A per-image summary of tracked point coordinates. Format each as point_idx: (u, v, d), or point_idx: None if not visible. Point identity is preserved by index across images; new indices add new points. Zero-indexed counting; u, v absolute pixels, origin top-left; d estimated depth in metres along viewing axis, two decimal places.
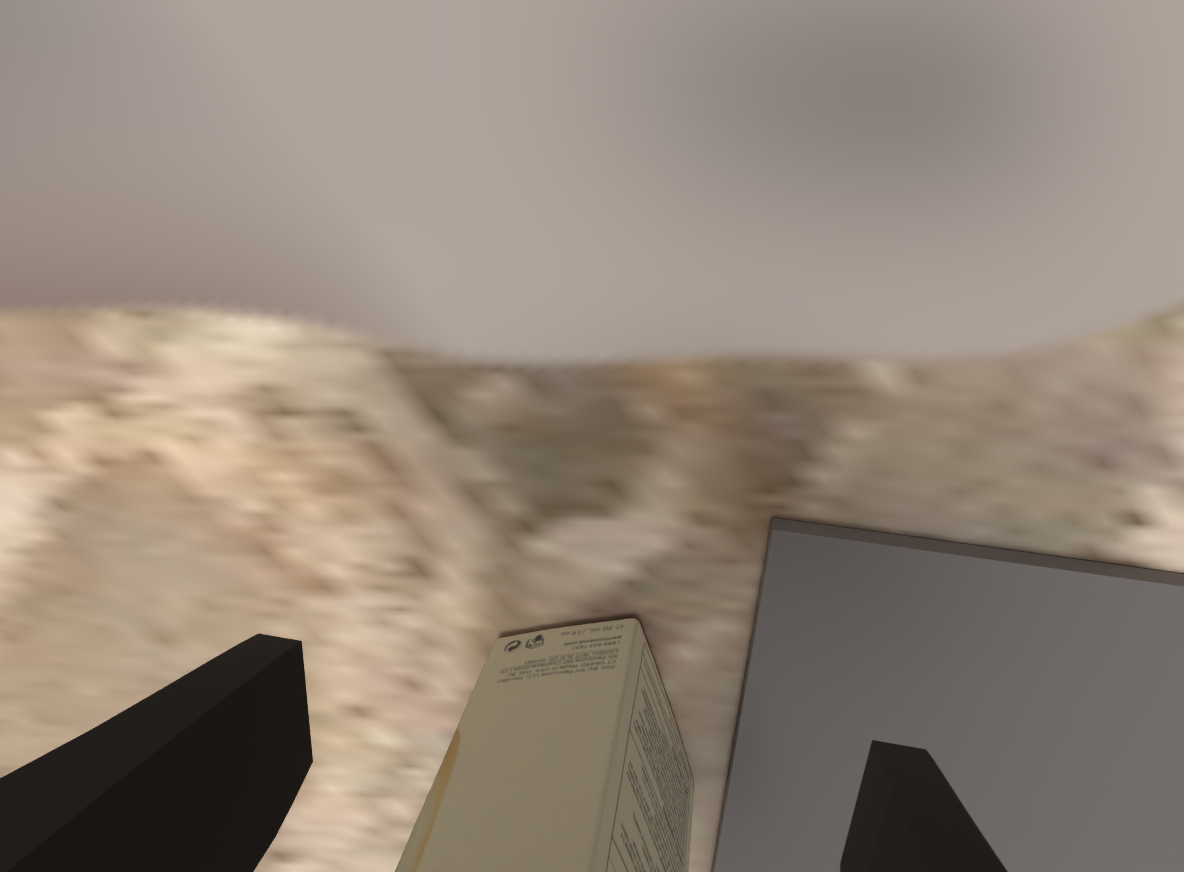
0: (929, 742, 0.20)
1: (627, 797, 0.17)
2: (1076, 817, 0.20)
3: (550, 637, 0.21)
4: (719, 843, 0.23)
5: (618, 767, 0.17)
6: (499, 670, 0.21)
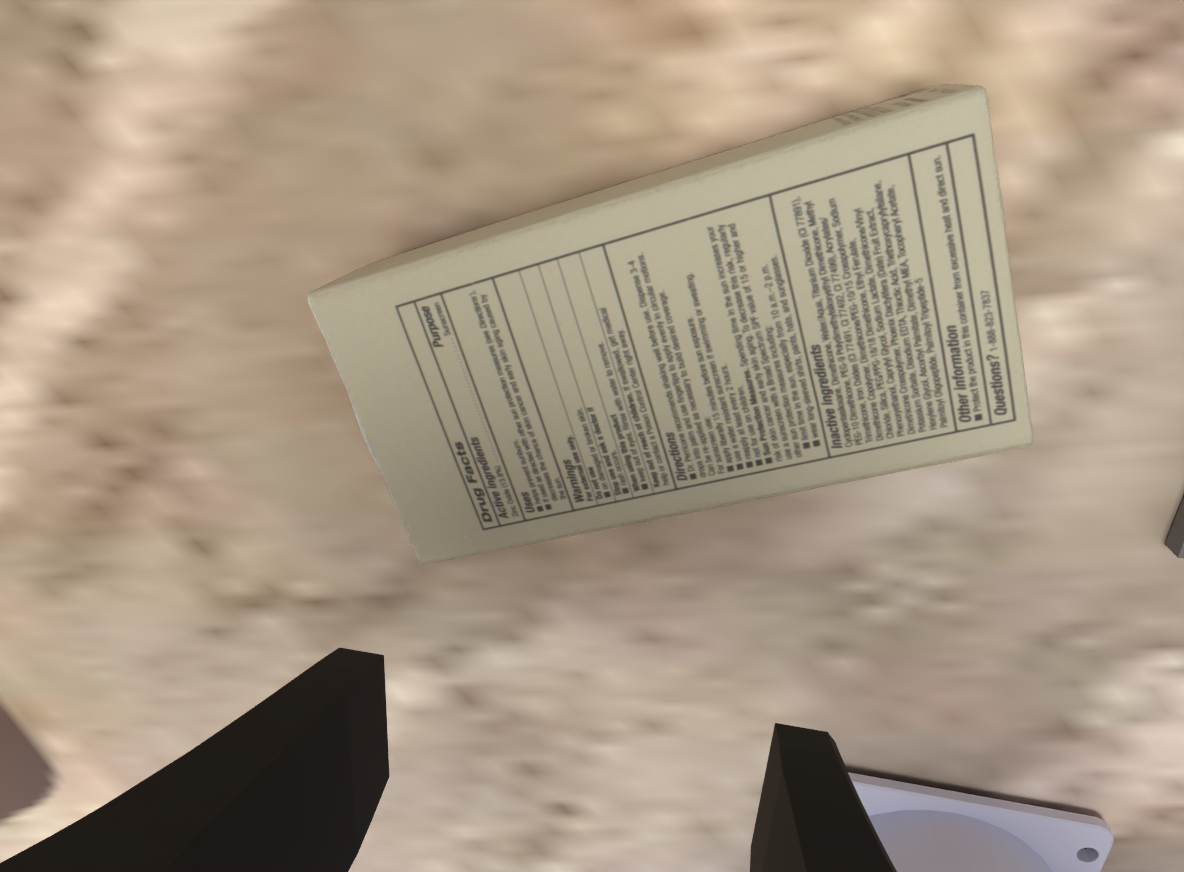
0: None
1: (685, 248, 0.14)
2: None
3: (923, 91, 0.14)
4: None
5: (684, 206, 0.13)
6: (852, 111, 0.15)
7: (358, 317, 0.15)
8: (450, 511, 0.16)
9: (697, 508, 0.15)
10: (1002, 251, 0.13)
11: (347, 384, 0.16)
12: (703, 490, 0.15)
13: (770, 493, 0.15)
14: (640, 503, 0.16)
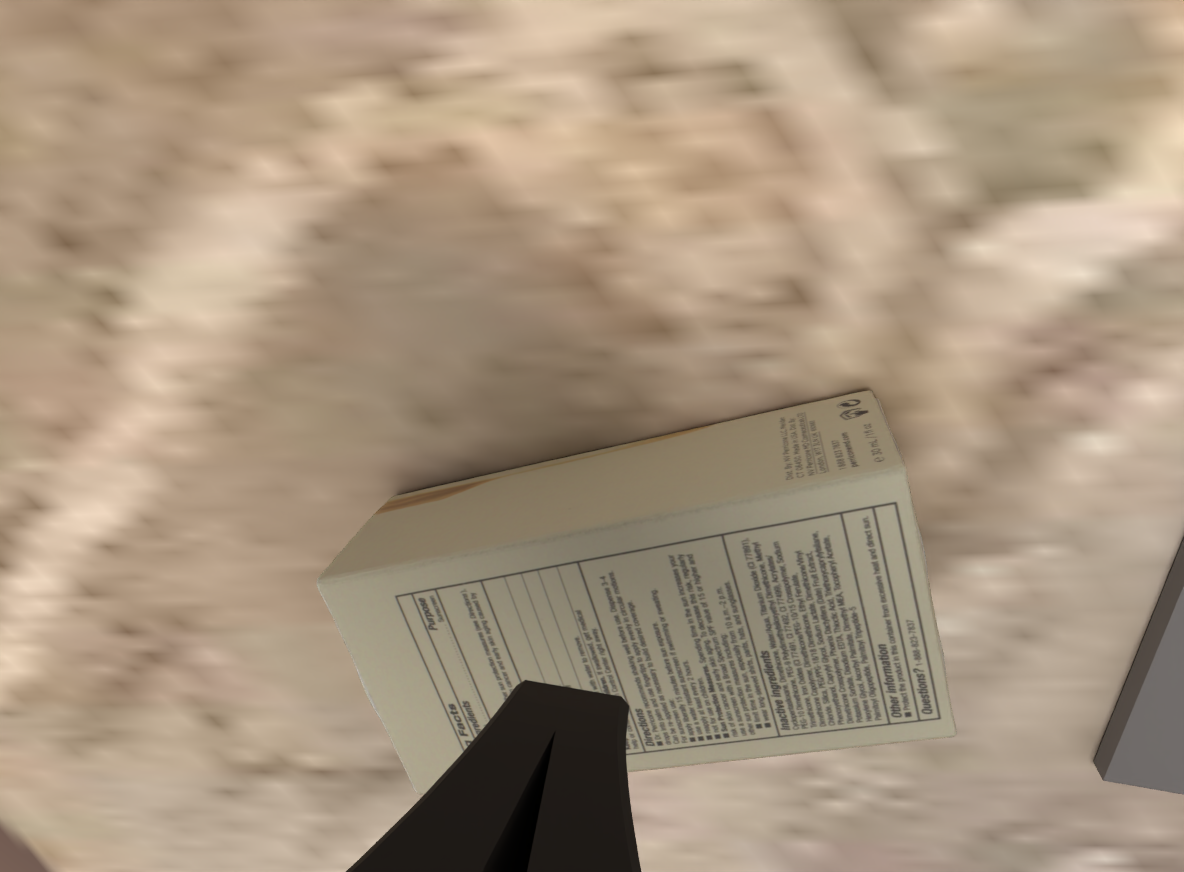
0: None
1: (650, 569, 0.15)
2: None
3: (861, 419, 0.16)
4: (1154, 656, 0.18)
5: (648, 538, 0.15)
6: (803, 411, 0.17)
7: (362, 602, 0.17)
8: (445, 757, 0.18)
9: (664, 767, 0.17)
10: (924, 591, 0.15)
11: (352, 652, 0.18)
12: (669, 754, 0.17)
13: (728, 760, 0.17)
14: None
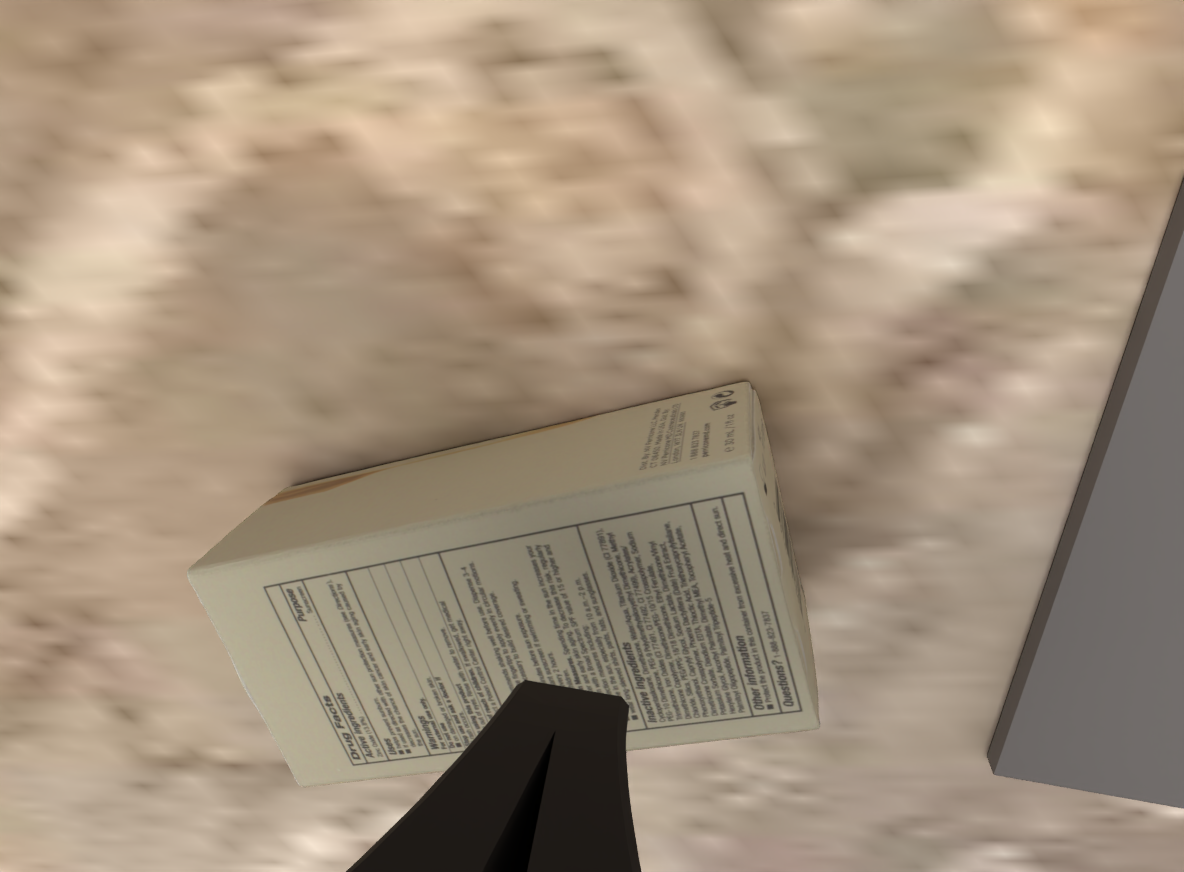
0: None
1: (508, 560, 0.15)
2: None
3: (727, 410, 0.16)
4: (1037, 649, 0.18)
5: (505, 528, 0.15)
6: (679, 402, 0.17)
7: (232, 593, 0.17)
8: (323, 749, 0.18)
9: None
10: (776, 582, 0.14)
11: (226, 644, 0.17)
12: None
13: None
14: None
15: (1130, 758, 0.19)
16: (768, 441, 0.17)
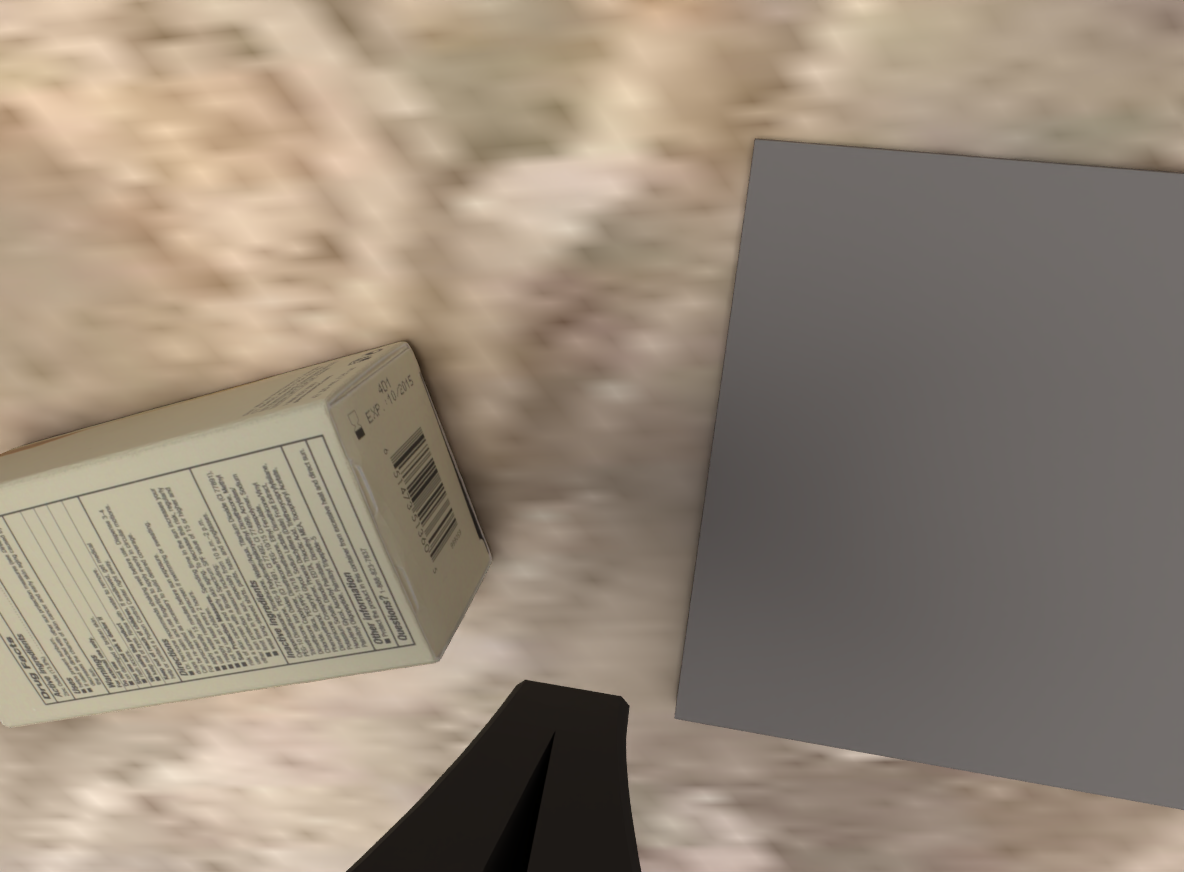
0: (946, 435, 0.17)
1: (138, 502, 0.16)
2: (1124, 529, 0.17)
3: (356, 364, 0.17)
4: (692, 596, 0.19)
5: (130, 472, 0.16)
6: (338, 360, 0.18)
7: None
8: (17, 689, 0.19)
9: (203, 696, 0.18)
10: (368, 520, 0.16)
11: None
12: (203, 683, 0.18)
13: (253, 688, 0.18)
14: (158, 691, 0.18)
15: (790, 700, 0.20)
16: (421, 397, 0.18)
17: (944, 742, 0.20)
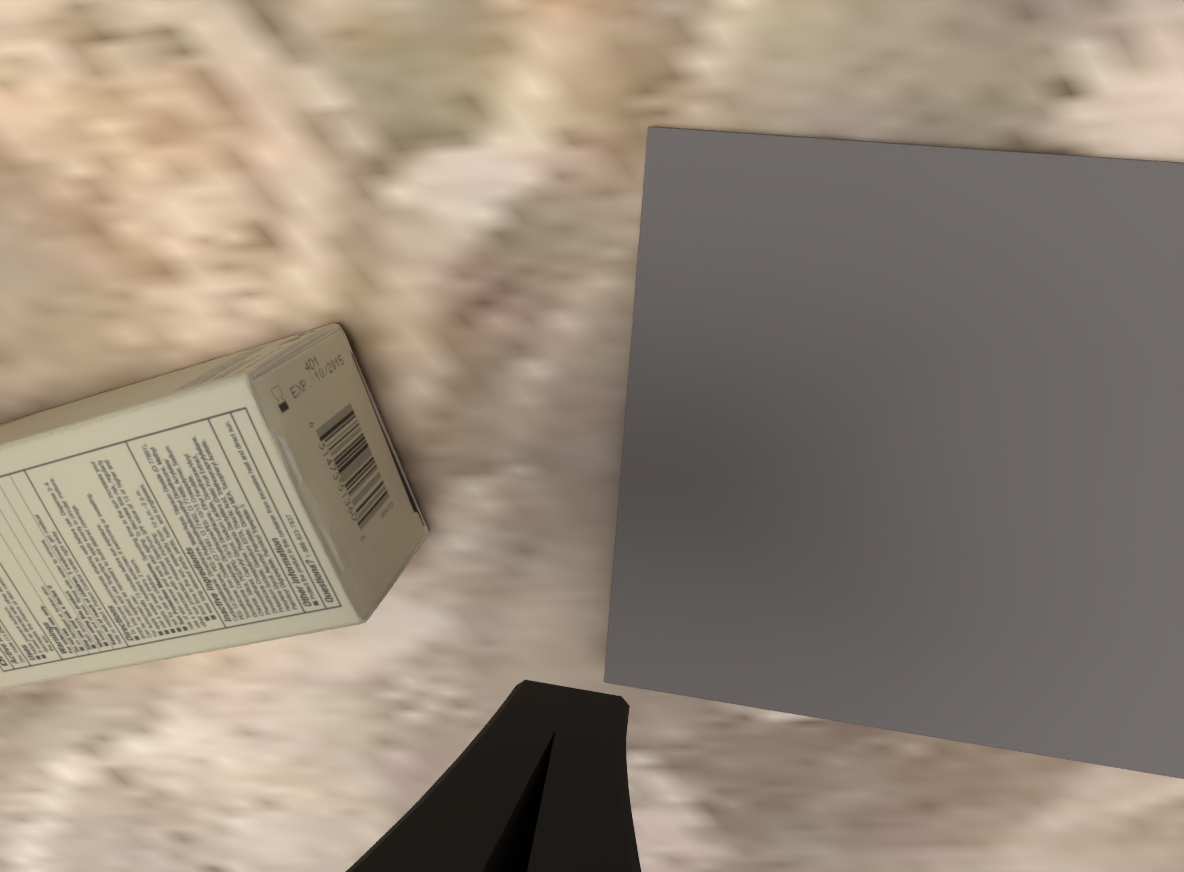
0: (840, 405, 0.18)
1: (80, 475, 0.17)
2: (1010, 492, 0.18)
3: (286, 344, 0.18)
4: (614, 563, 0.20)
5: (71, 446, 0.17)
6: (273, 342, 0.19)
7: None
8: None
9: (149, 660, 0.19)
10: (291, 488, 0.17)
11: None
12: (148, 648, 0.19)
13: (195, 652, 0.19)
14: (107, 656, 0.19)
15: (711, 663, 0.21)
16: (352, 376, 0.19)
17: (856, 700, 0.21)
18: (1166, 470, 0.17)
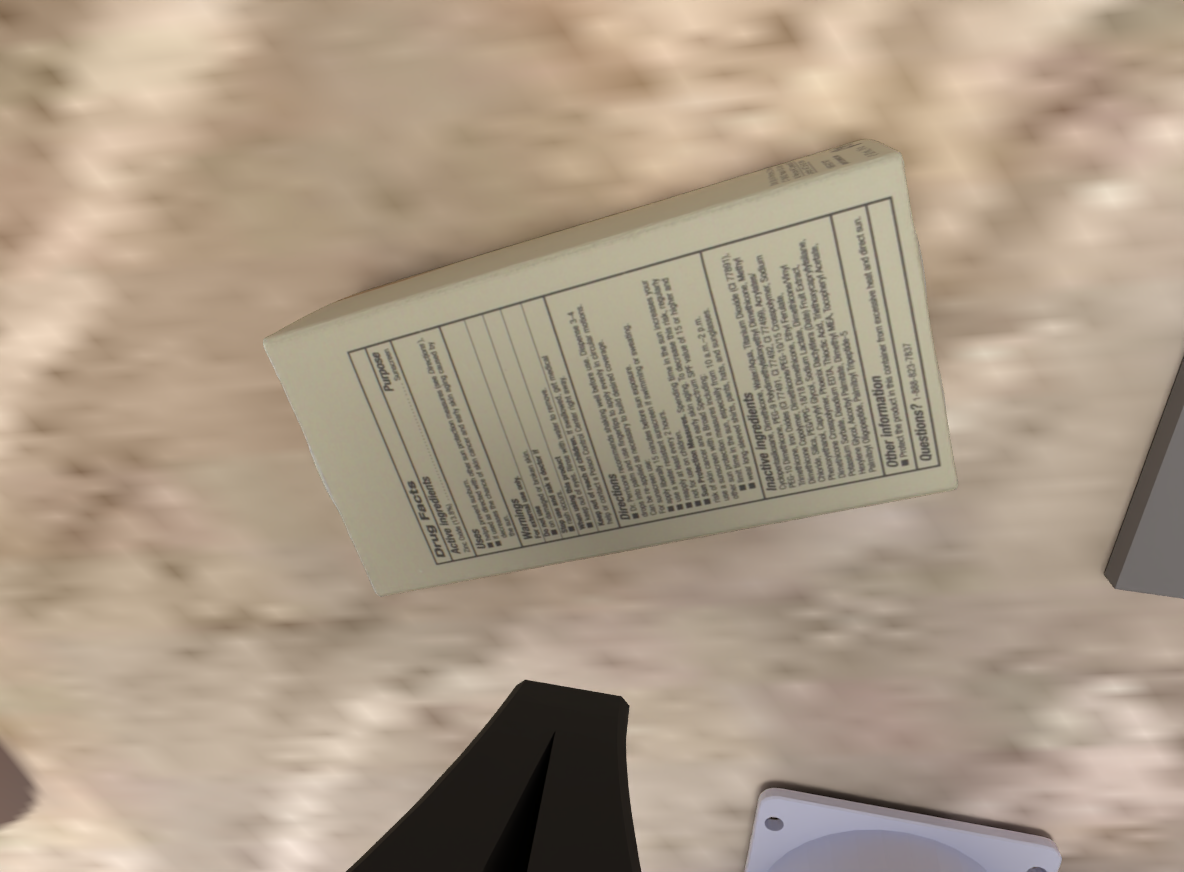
0: None
1: (621, 300, 0.14)
2: None
3: (854, 147, 0.15)
4: (1171, 438, 0.17)
5: (620, 261, 0.14)
6: (791, 161, 0.16)
7: (312, 362, 0.16)
8: (405, 547, 0.17)
9: (640, 546, 0.16)
10: (922, 307, 0.13)
11: (303, 425, 0.16)
12: (646, 529, 0.16)
13: (710, 532, 0.16)
14: (586, 540, 0.16)
15: None
16: None
17: None
18: None
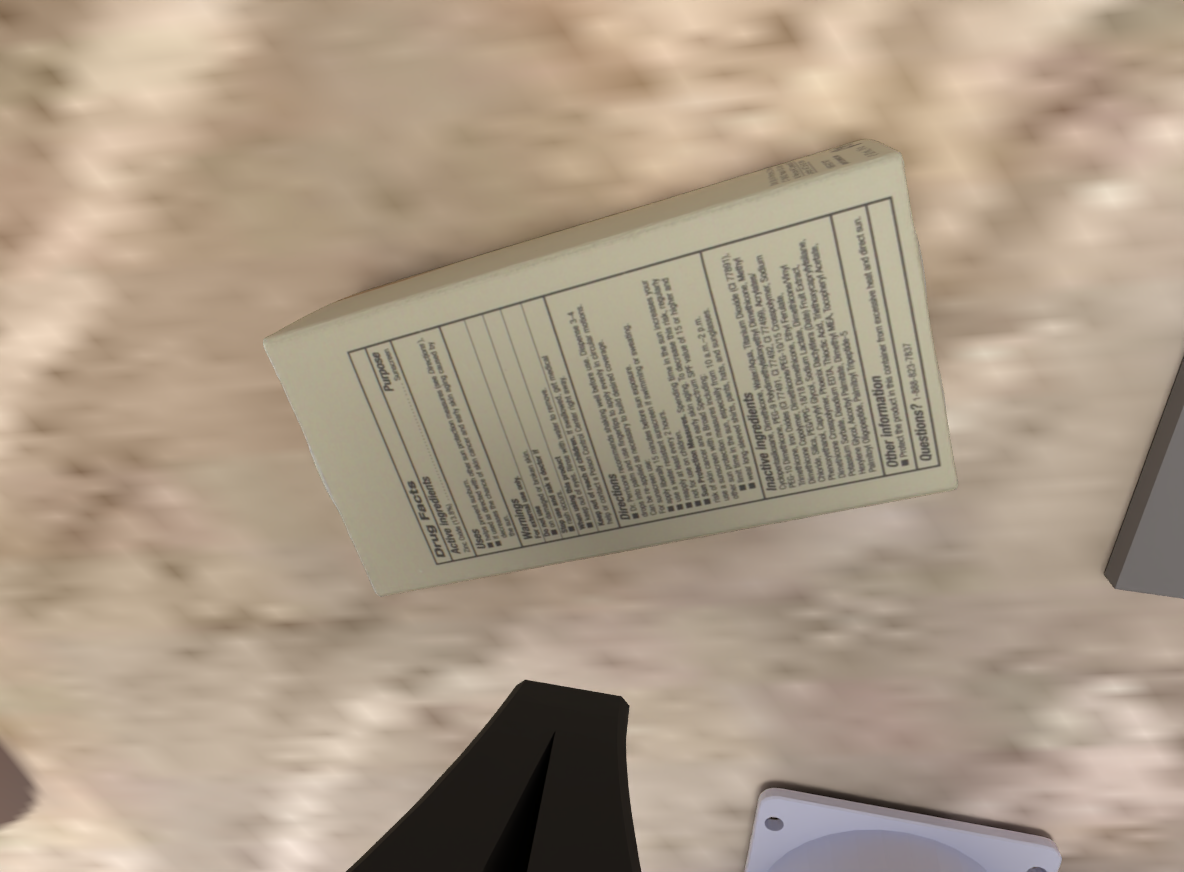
0: None
1: (621, 300, 0.14)
2: None
3: (854, 147, 0.15)
4: (1171, 438, 0.17)
5: (620, 261, 0.14)
6: (791, 161, 0.16)
7: (312, 362, 0.16)
8: (405, 547, 0.17)
9: (640, 546, 0.16)
10: (922, 307, 0.13)
11: (303, 425, 0.16)
12: (646, 529, 0.16)
13: (710, 532, 0.16)
14: (586, 540, 0.16)
15: None
16: None
17: None
18: None
